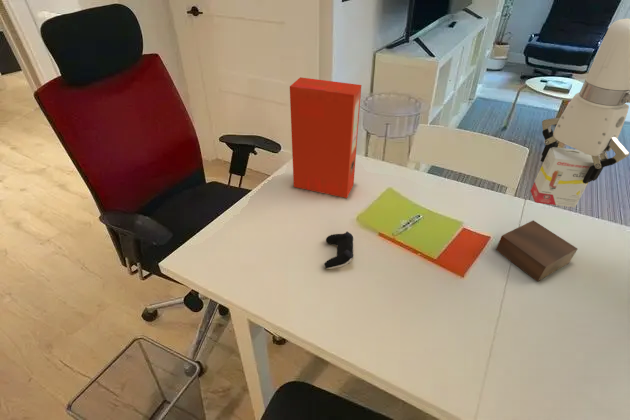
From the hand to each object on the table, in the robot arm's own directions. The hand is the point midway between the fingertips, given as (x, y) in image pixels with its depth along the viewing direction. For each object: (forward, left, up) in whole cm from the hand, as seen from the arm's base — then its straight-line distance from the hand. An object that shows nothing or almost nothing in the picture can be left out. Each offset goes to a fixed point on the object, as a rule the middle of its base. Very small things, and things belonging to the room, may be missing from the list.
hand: (566, 170), depth 81 cm
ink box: (0, 0, -8) cm, 8 cm away
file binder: (+31, -50, -24) cm, 63 cm away
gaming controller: (+43, -22, -24) cm, 54 cm away
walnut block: (+1, +2, -24) cm, 24 cm away
